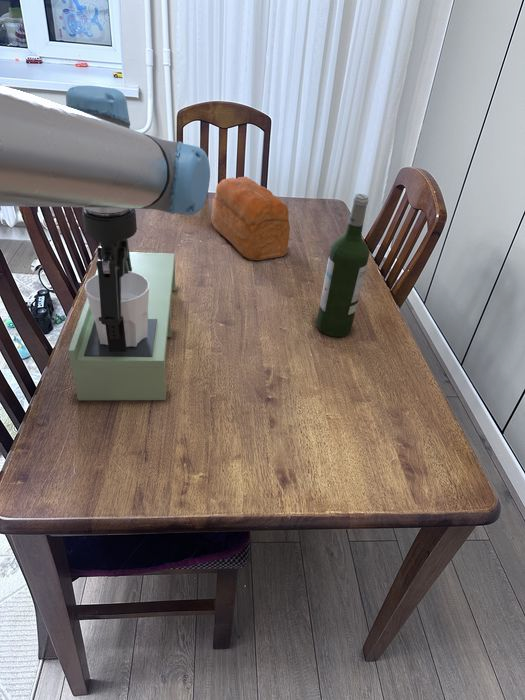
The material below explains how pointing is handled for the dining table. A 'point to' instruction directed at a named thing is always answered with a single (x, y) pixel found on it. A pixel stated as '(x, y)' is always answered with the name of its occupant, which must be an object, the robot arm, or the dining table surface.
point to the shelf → (137, 362)
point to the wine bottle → (344, 275)
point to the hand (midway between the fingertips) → (122, 331)
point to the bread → (251, 218)
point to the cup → (124, 307)
